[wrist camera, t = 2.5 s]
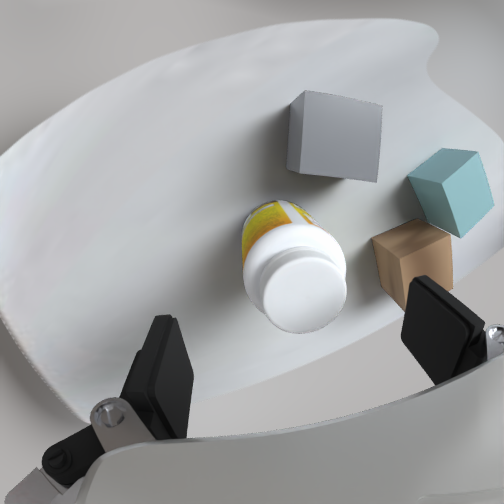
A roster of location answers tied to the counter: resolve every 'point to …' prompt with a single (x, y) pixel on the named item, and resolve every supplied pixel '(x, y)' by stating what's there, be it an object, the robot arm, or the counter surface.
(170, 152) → the counter surface
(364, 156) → the gray block
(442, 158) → the teal block
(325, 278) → the supplement bottle
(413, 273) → the walnut block
